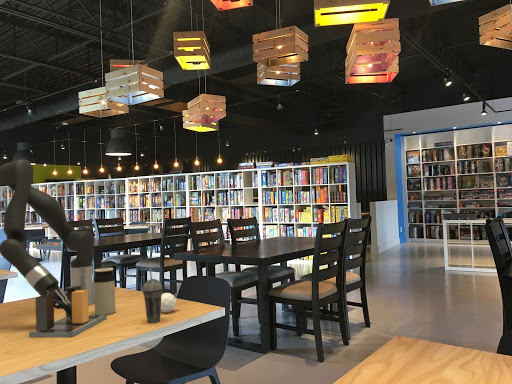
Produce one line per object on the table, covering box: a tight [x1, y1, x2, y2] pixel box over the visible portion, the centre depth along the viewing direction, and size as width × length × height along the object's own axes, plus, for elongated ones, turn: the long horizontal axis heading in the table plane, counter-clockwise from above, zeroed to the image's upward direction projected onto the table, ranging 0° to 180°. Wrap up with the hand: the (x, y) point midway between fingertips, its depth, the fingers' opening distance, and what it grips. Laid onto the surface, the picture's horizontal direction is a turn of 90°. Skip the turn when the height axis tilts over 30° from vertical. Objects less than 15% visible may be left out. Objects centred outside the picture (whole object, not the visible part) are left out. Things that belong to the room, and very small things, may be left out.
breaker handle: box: [72, 290, 90, 323], centre depth 153 cm, size 4×4×11 cm
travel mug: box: [93, 267, 116, 315], centre depth 173 cm, size 8×8×18 cm
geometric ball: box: [161, 292, 177, 314], centre depth 171 cm, size 8×8×8 cm
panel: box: [28, 285, 108, 338], centre depth 153 cm, size 23×16×13 cm
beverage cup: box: [142, 267, 163, 324], centre depth 157 cm, size 7×7×20 cm
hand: (73, 313), depth 153 cm, fingers closed
